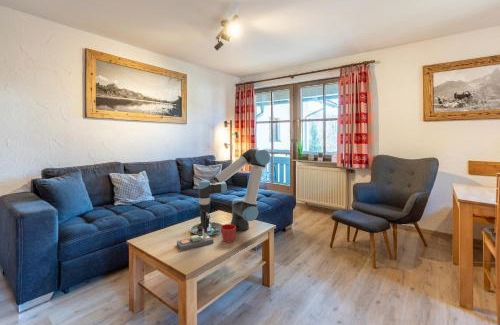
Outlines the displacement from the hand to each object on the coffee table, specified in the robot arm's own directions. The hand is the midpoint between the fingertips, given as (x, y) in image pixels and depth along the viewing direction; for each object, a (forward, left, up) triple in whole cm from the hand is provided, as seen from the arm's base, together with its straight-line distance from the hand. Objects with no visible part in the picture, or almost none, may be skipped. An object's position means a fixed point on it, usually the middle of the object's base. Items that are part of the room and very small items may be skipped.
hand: (204, 236), depth 177 cm
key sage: (+7, 0, -1) cm, 7 cm away
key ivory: (0, 0, -3) cm, 3 cm away
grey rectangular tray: (+7, 0, -4) cm, 8 cm away
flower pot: (-15, +6, -4) cm, 17 cm away
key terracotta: (+14, 0, -3) cm, 14 cm away
